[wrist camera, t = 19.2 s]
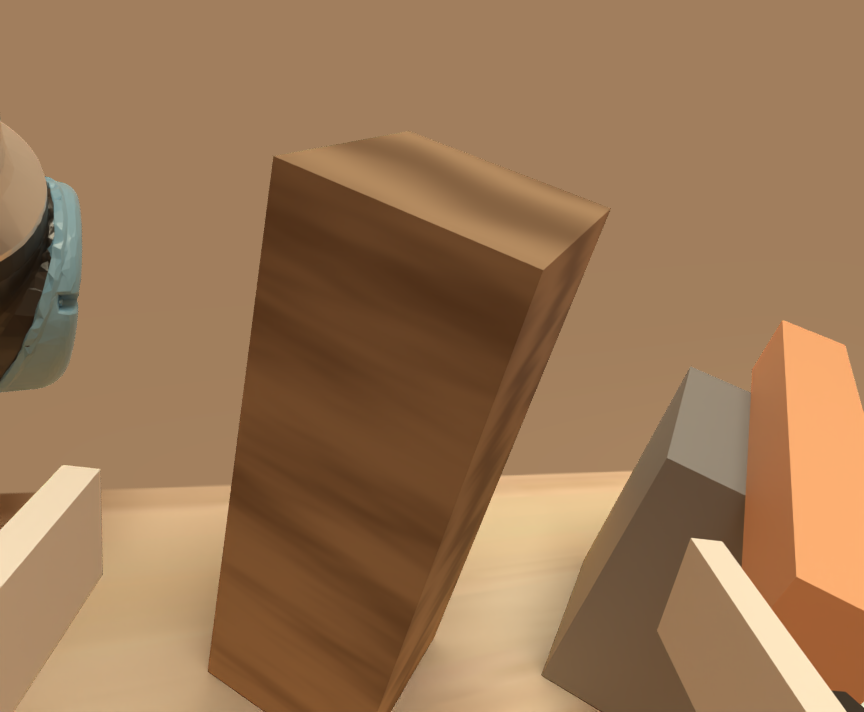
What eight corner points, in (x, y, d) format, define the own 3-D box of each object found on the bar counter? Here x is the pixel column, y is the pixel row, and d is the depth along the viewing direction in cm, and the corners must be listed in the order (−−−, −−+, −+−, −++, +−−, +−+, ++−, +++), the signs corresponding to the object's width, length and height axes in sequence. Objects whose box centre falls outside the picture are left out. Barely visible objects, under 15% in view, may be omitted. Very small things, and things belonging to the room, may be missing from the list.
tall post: (310, 560, 45) (409, 131, 30) (433, 637, 43) (610, 208, 27) (207, 671, 37) (273, 156, 22) (353, 774, 34) (543, 270, 19)
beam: (752, 369, 45) (782, 319, 43) (811, 394, 44) (845, 345, 42) (737, 649, 23) (796, 576, 21) (852, 712, 22) (926, 642, 20)
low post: (584, 559, 52) (690, 366, 43) (731, 639, 49) (882, 450, 39) (541, 675, 42) (667, 457, 33) (722, 784, 39) (919, 579, 30)
